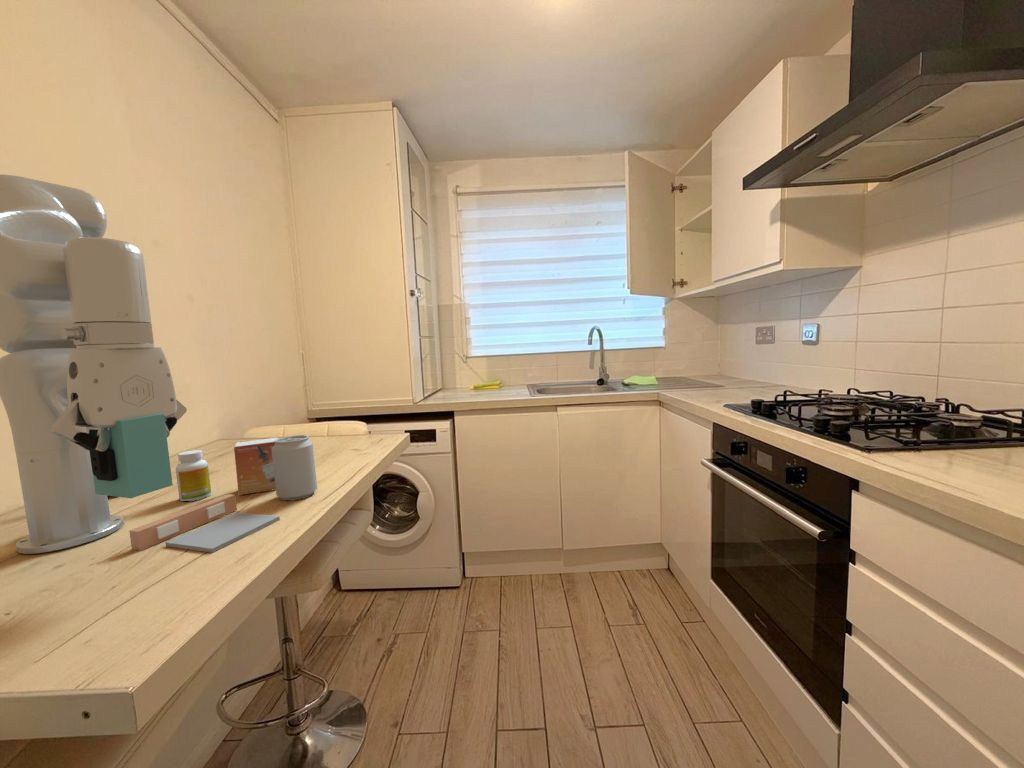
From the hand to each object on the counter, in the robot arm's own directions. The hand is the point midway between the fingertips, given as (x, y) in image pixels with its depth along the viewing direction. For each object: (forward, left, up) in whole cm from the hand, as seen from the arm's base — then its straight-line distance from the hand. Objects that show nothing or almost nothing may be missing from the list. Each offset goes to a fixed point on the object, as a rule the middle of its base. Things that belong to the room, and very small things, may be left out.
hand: (133, 471), depth 58 cm
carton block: (0, 0, -3) cm, 3 cm away
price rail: (-9, +12, -14) cm, 20 cm away
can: (-2, +29, -14) cm, 32 cm away
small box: (-14, +31, -14) cm, 37 cm away
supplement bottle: (-24, +24, -14) cm, 37 cm away
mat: (0, +12, -14) cm, 18 cm away
